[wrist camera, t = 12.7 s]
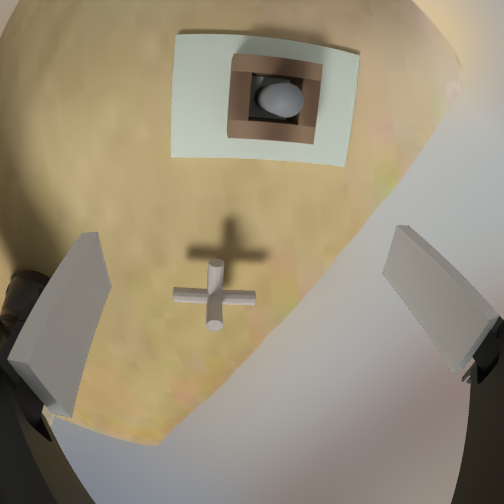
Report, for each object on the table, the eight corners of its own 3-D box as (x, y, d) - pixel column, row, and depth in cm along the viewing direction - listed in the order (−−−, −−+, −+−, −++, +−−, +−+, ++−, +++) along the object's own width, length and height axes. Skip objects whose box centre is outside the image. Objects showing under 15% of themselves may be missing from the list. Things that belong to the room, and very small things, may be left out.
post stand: (172, 155, 30) (153, 182, 22) (177, 36, 23) (158, 13, 14) (341, 164, 33) (381, 193, 24) (355, 55, 25) (404, 49, 17)
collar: (226, 130, 28) (227, 138, 24) (231, 59, 24) (233, 53, 20) (299, 136, 29) (313, 144, 25) (307, 67, 25) (322, 64, 21)
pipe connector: (177, 238, 36) (166, 288, 27) (255, 243, 37) (266, 292, 29) (178, 298, 41) (172, 351, 32) (246, 301, 42) (253, 353, 34)
